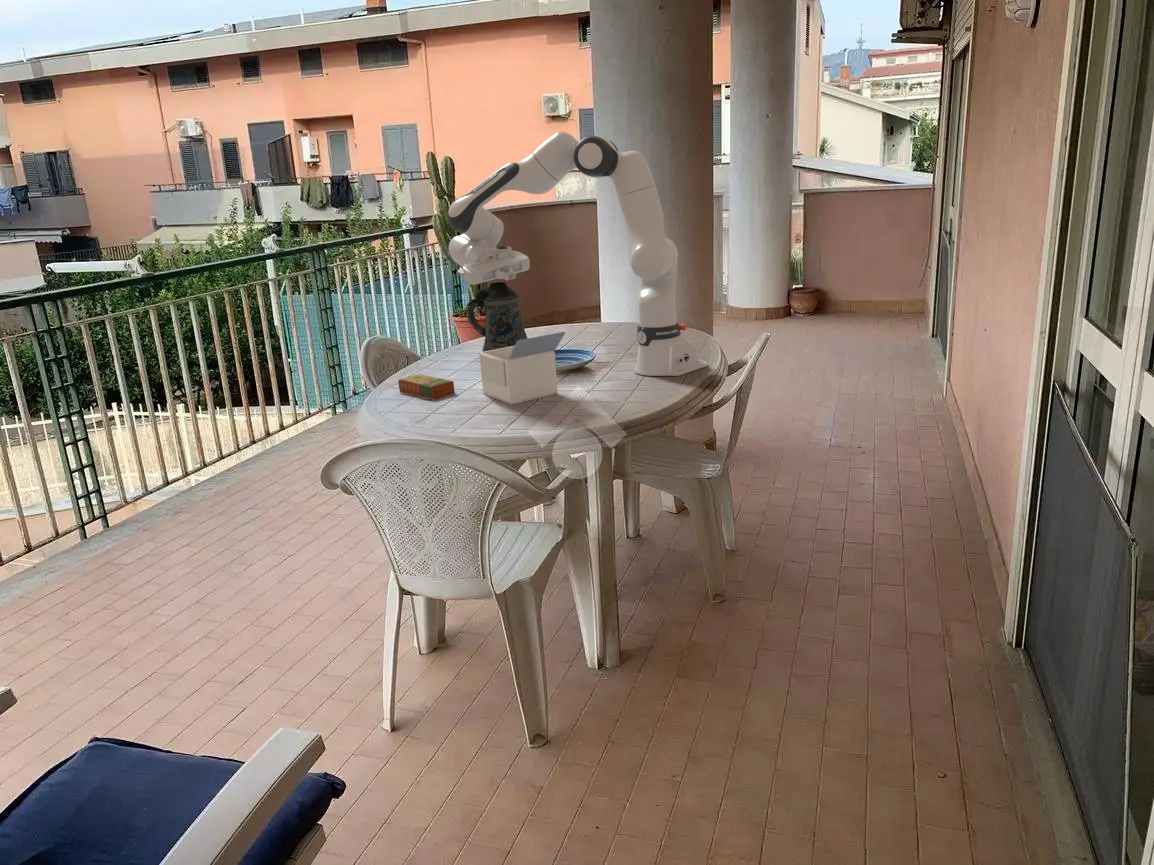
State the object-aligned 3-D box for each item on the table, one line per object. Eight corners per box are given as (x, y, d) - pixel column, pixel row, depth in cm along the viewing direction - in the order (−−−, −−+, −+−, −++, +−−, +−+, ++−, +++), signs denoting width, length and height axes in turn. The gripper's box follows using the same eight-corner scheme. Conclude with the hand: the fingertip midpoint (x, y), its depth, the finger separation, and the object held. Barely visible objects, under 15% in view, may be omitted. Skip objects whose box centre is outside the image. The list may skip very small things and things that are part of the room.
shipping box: (529, 383, 244) (526, 343, 240) (559, 393, 230) (556, 351, 227) (480, 393, 235) (476, 352, 232) (508, 405, 222) (504, 361, 218)
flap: (564, 331, 219) (565, 333, 219) (554, 348, 226) (555, 350, 225) (517, 340, 212) (518, 341, 212) (508, 357, 218) (509, 359, 218)
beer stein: (541, 356, 277) (535, 281, 270) (492, 367, 267) (484, 289, 259) (514, 349, 290) (508, 278, 282) (466, 359, 279) (458, 285, 272)
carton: (421, 387, 249) (420, 373, 247) (455, 394, 238) (454, 379, 237) (399, 393, 243) (397, 379, 242) (432, 400, 232) (431, 386, 231)
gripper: (453, 260, 234) (479, 274, 225) (513, 244, 244) (540, 258, 235) (455, 280, 237) (480, 296, 228) (514, 265, 248) (540, 279, 239)
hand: (511, 276), depth 232 cm, fingers closed
